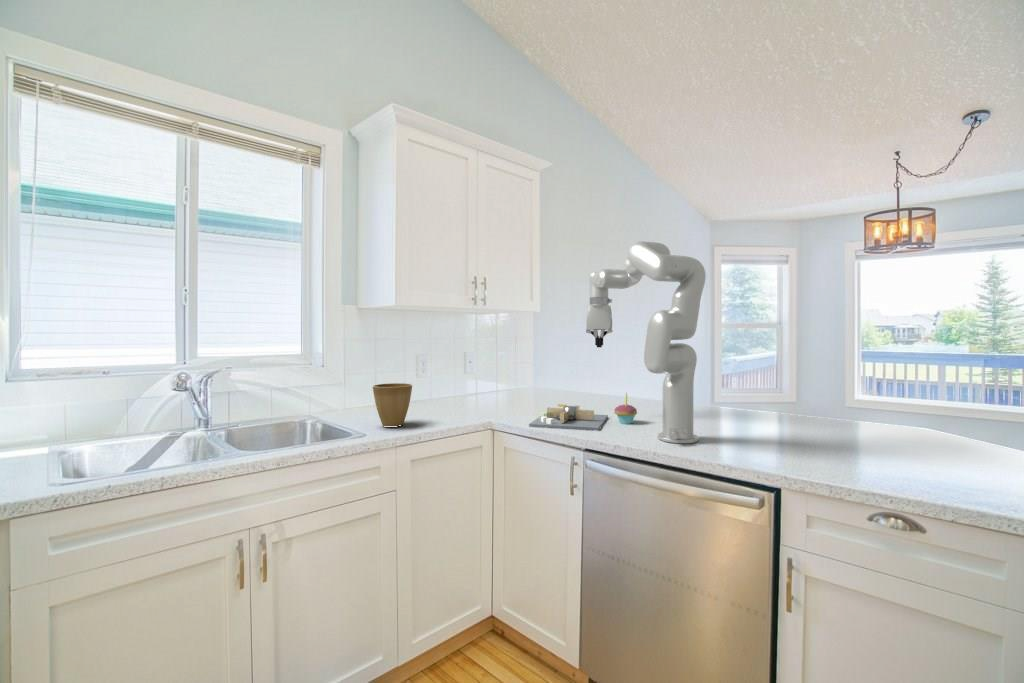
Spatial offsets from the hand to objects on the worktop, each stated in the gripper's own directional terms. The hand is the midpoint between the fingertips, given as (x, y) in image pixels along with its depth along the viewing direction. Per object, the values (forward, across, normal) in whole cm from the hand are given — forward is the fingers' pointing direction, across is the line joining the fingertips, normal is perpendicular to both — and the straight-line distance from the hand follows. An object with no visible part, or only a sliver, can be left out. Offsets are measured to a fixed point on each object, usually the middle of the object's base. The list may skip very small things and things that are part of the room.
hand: (599, 347), depth 191 cm
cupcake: (+29, -11, +7) cm, 32 cm away
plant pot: (+29, +74, +37) cm, 88 cm away
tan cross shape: (+28, +10, +11) cm, 32 cm away
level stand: (+29, +10, +11) cm, 33 cm away
